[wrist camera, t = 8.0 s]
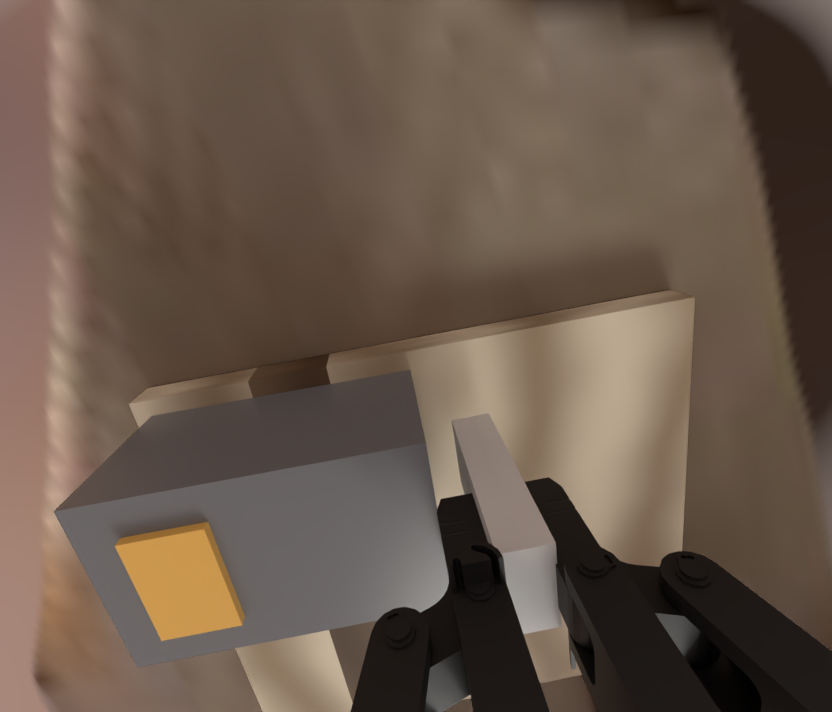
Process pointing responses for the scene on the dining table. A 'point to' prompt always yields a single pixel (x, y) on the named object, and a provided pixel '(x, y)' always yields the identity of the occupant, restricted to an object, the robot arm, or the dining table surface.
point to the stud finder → (262, 519)
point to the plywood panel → (524, 438)
